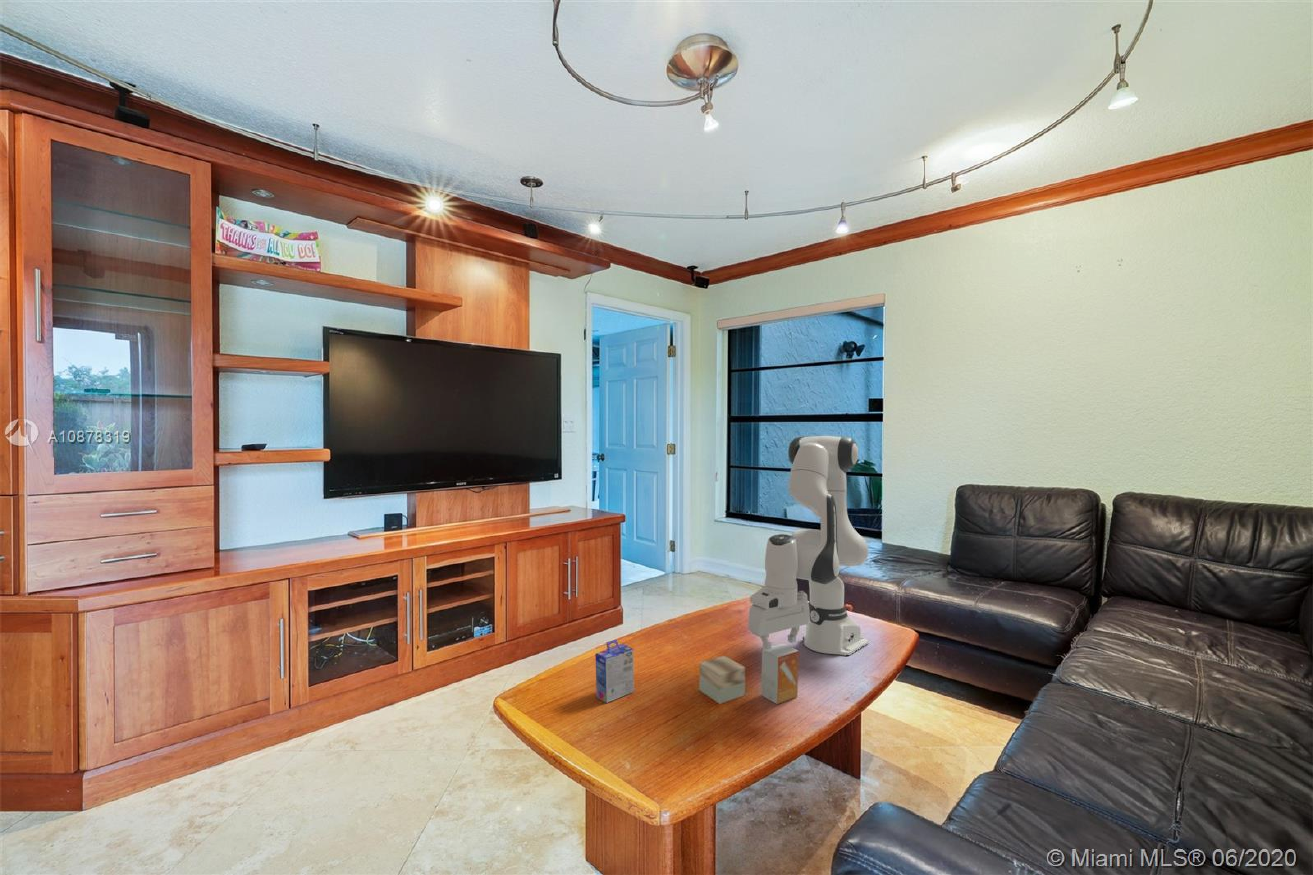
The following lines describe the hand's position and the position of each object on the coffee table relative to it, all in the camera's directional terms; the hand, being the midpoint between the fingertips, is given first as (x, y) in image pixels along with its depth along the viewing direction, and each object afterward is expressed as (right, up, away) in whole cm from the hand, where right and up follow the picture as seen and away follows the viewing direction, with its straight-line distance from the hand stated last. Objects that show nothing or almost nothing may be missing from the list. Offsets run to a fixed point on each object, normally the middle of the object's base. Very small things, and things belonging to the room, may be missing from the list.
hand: (779, 645), depth 150 cm
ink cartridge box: (-45, -14, +1) cm, 48 cm away
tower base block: (-15, -15, +3) cm, 21 cm away
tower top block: (-15, -11, +3) cm, 19 cm away
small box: (0, -15, +1) cm, 15 cm away
